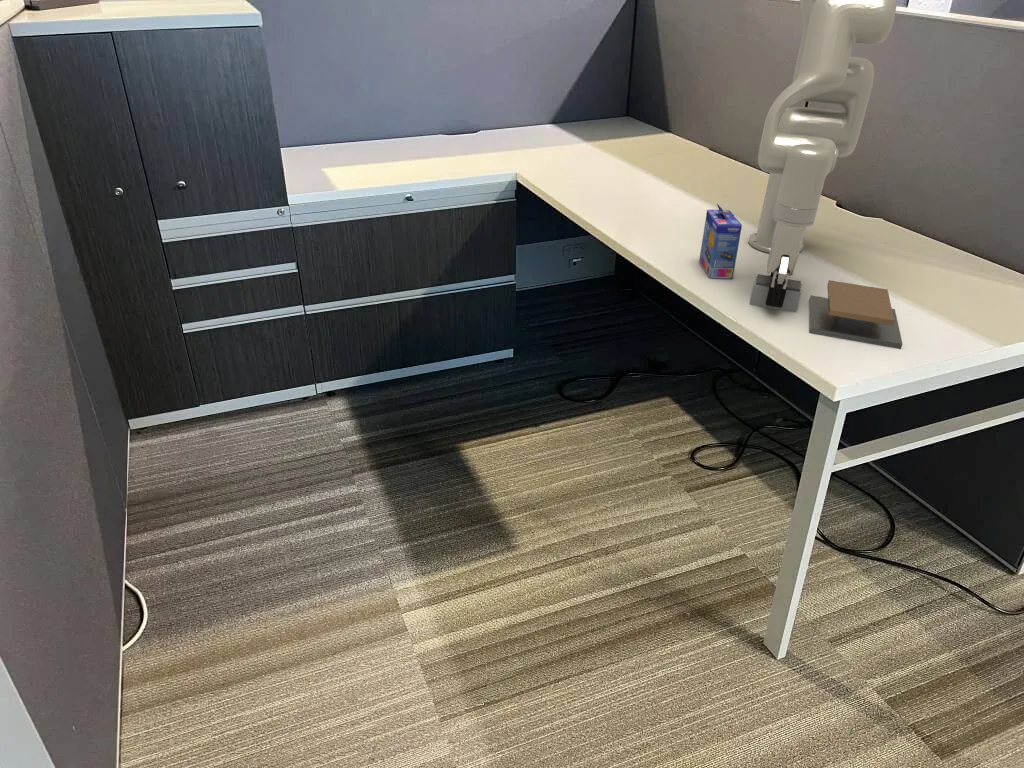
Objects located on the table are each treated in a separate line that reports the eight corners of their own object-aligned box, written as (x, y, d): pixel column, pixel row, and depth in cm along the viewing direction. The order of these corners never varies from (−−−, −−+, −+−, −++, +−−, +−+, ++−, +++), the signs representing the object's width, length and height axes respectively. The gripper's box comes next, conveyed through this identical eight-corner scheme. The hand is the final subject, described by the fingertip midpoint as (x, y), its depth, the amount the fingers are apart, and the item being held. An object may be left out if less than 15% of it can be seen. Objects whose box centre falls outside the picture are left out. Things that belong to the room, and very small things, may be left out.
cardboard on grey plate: (809, 299, 156) (815, 277, 153) (893, 313, 152) (901, 290, 149) (809, 332, 143) (815, 308, 140) (901, 348, 139) (909, 324, 136)
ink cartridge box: (696, 261, 172) (707, 198, 164) (720, 262, 172) (733, 199, 165) (707, 278, 163) (720, 213, 156) (733, 279, 164) (746, 214, 156)
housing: (751, 295, 157) (756, 273, 154) (796, 303, 155) (802, 280, 152) (749, 305, 153) (754, 282, 150) (796, 313, 151) (802, 290, 148)
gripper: (776, 197, 152) (757, 278, 161) (772, 223, 138) (752, 310, 147) (815, 203, 150) (794, 284, 159) (815, 230, 136) (793, 317, 145)
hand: (774, 296), depth 153 cm, fingers open, 8 cm apart
